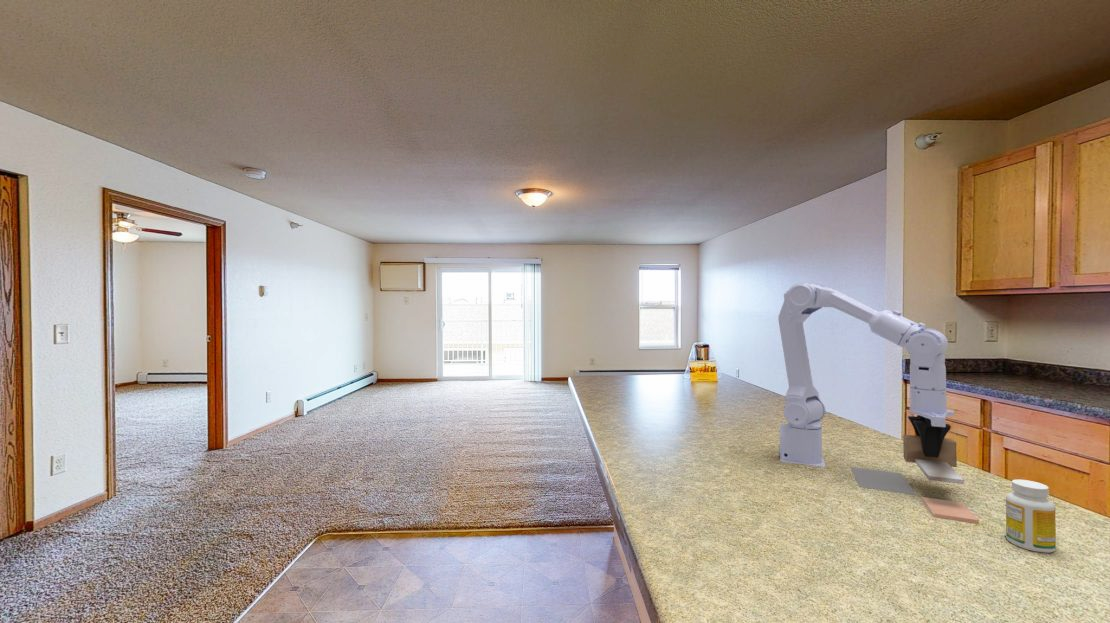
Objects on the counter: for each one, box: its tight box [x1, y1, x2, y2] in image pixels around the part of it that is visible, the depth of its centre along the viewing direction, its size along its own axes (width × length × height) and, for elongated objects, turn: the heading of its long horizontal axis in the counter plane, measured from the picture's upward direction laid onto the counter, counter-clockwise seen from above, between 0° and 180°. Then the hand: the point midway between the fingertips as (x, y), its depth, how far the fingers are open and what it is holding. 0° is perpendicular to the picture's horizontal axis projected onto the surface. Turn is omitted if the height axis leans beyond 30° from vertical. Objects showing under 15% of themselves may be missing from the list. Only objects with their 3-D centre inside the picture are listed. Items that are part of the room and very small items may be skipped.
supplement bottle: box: [1005, 478, 1057, 554], centre depth 70 cm, size 5×5×10 cm
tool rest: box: [850, 466, 917, 496], centre depth 97 cm, size 10×14×1 cm
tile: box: [921, 496, 980, 525], centre depth 81 cm, size 6×2×8 cm
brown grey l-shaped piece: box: [902, 434, 965, 485], centre depth 88 cm, size 8×12×5 cm, turn 153°
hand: (929, 454), depth 92 cm, fingers closed on brown grey l-shaped piece, 2 cm apart
